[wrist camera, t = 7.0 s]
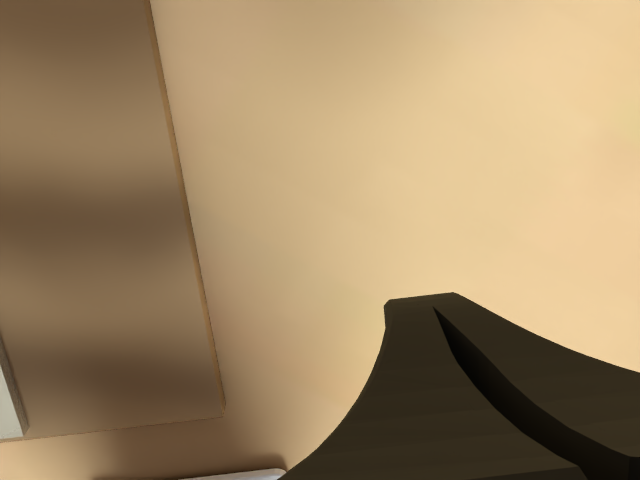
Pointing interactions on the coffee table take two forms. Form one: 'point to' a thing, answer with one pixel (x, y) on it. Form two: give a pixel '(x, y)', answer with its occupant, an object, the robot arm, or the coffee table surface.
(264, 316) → the coffee table surface
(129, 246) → the board
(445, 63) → the coffee table surface
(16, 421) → the hinge leaves
